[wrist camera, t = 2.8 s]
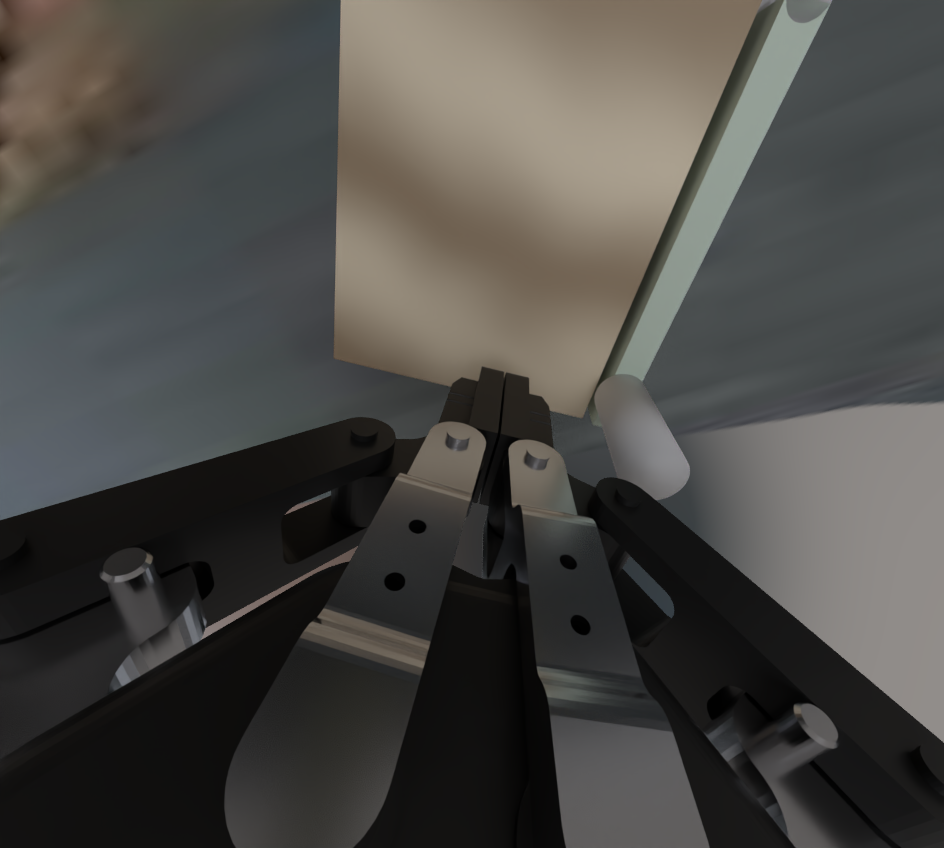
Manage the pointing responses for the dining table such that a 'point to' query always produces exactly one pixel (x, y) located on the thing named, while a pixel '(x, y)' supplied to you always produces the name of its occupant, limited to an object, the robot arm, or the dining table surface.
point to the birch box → (513, 176)
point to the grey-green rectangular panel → (696, 242)
